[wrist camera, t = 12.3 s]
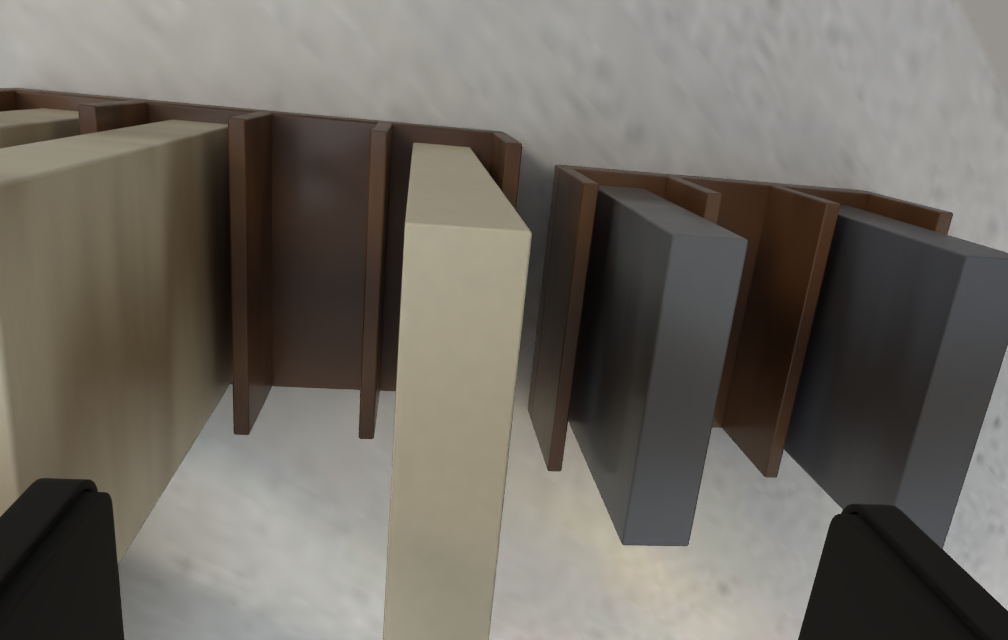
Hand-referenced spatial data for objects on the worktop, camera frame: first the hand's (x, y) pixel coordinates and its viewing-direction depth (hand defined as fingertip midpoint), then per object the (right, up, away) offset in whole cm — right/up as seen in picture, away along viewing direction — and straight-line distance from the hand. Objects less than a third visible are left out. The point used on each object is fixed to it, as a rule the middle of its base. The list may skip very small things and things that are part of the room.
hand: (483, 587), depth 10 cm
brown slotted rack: (+8, +4, +20) cm, 22 cm away
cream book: (-2, +5, +17) cm, 18 cm away
